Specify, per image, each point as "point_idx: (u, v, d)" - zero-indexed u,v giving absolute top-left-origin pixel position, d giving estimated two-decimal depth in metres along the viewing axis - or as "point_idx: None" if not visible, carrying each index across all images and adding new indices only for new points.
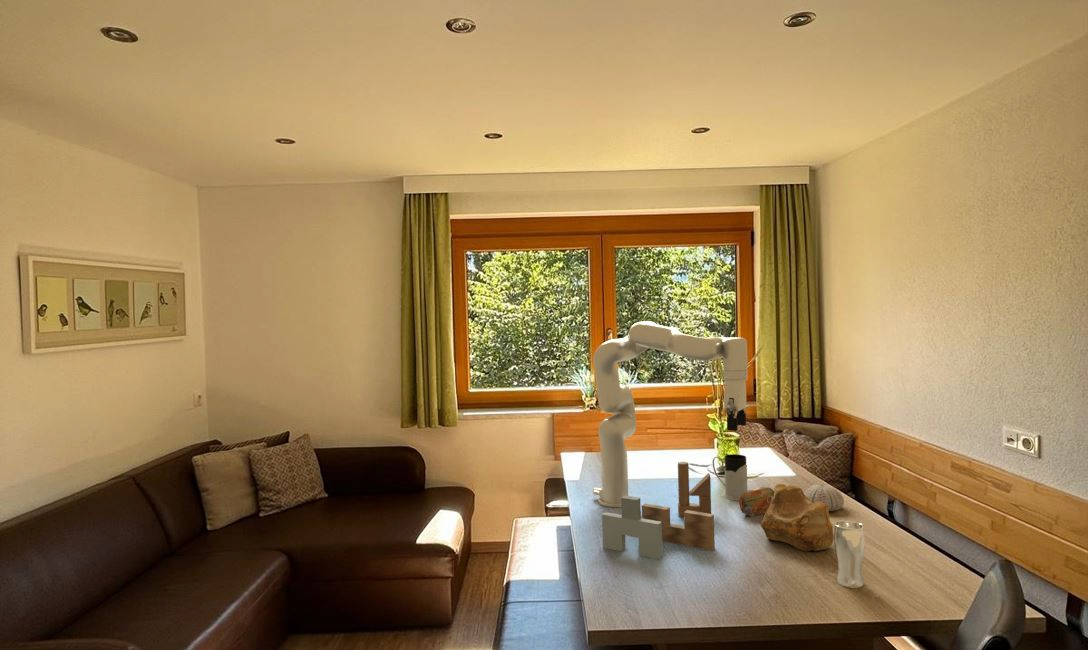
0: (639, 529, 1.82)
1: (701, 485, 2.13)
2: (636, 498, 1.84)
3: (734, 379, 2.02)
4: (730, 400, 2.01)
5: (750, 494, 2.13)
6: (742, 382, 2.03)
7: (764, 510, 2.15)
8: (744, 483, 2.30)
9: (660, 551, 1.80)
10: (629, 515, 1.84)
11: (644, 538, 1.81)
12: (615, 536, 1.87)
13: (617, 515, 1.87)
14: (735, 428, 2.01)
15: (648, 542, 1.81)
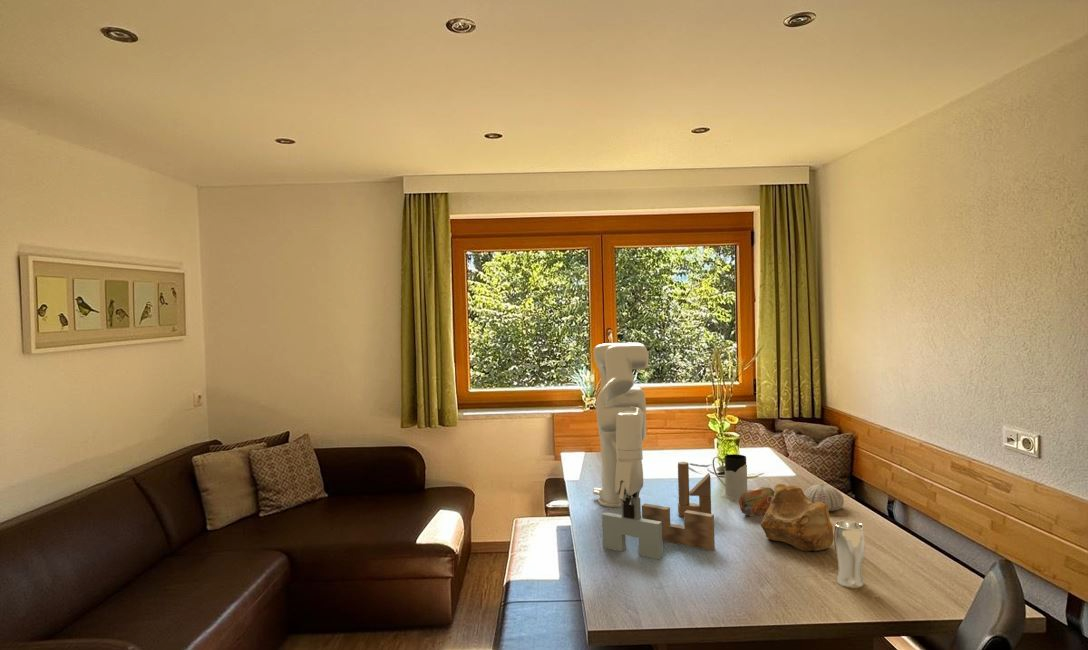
0: (639, 529, 1.82)
1: (701, 485, 2.13)
2: (636, 498, 1.84)
3: (626, 459, 1.81)
4: (622, 487, 1.80)
5: (750, 494, 2.13)
6: (635, 462, 1.82)
7: (764, 510, 2.15)
8: (744, 483, 2.30)
9: (660, 551, 1.80)
10: None
11: (644, 538, 1.81)
12: (615, 536, 1.87)
13: (617, 515, 1.87)
14: (632, 516, 1.83)
15: (648, 542, 1.81)
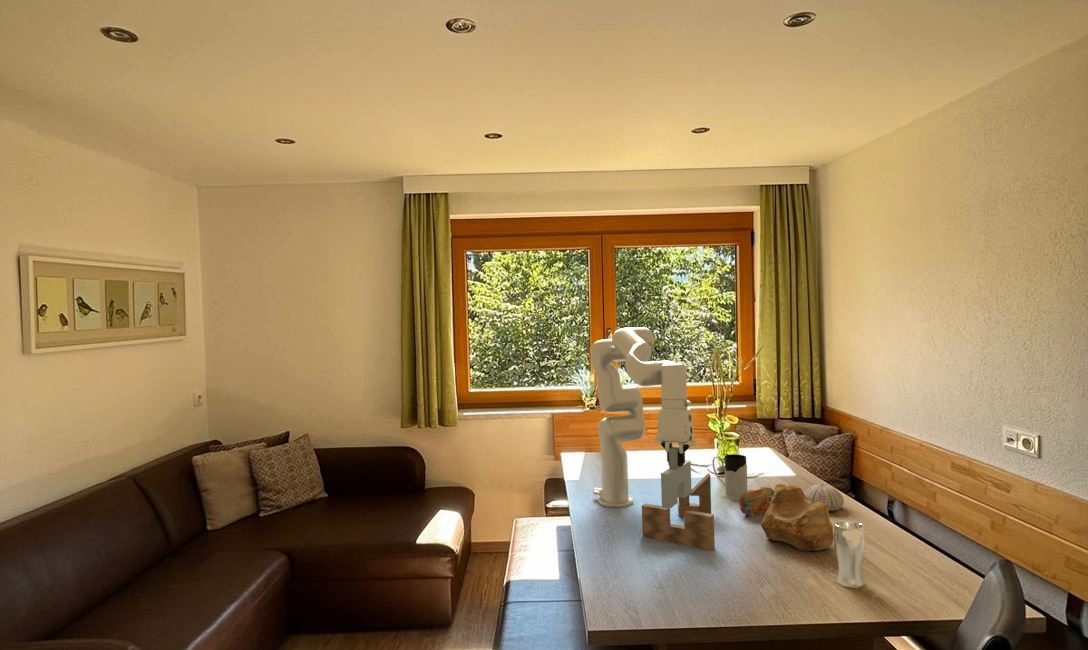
0: None
1: (701, 485, 2.13)
2: (673, 448, 1.88)
3: None
4: None
5: (750, 494, 2.13)
6: (667, 412, 1.88)
7: (764, 510, 2.15)
8: (744, 483, 2.30)
9: (664, 501, 1.83)
10: None
11: None
12: None
13: None
14: None
15: None
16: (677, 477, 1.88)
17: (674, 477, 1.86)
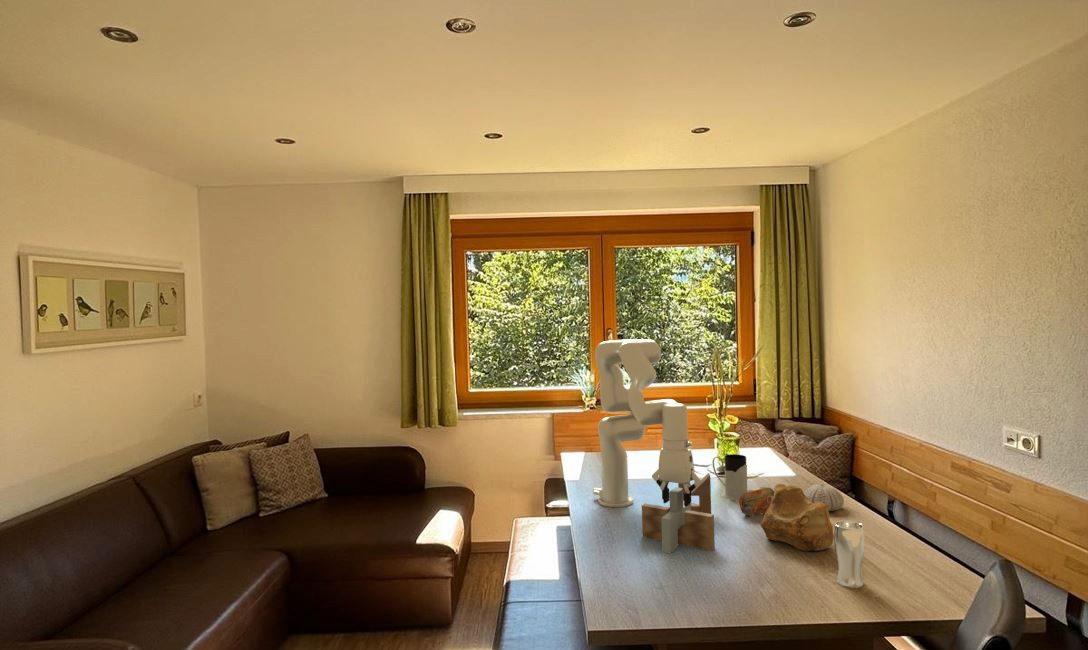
0: None
1: (701, 485, 2.13)
2: (674, 491, 1.89)
3: None
4: None
5: (750, 494, 2.13)
6: (668, 452, 1.89)
7: (764, 510, 2.15)
8: (744, 483, 2.30)
9: (665, 546, 1.84)
10: None
11: None
12: None
13: None
14: None
15: None
16: (678, 520, 1.88)
17: (675, 521, 1.86)
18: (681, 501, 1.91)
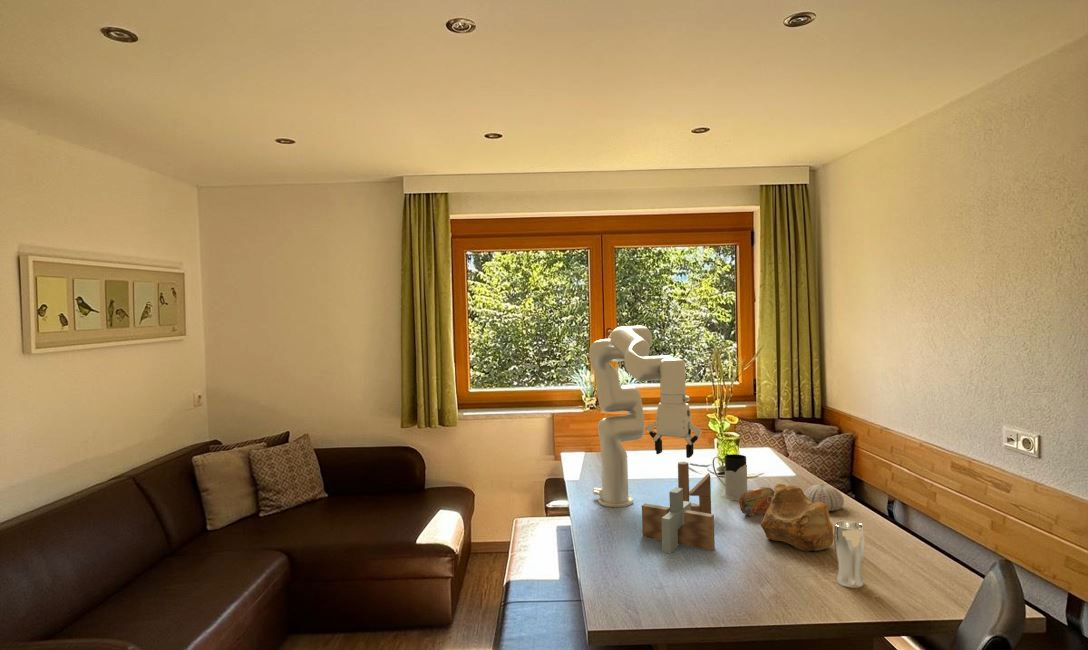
0: None
1: (701, 485, 2.13)
2: (674, 491, 1.89)
3: None
4: None
5: (750, 494, 2.13)
6: (666, 407, 1.90)
7: (764, 510, 2.15)
8: (744, 483, 2.30)
9: (665, 546, 1.84)
10: None
11: None
12: None
13: None
14: None
15: None
16: (678, 520, 1.88)
17: (675, 521, 1.86)
18: (681, 501, 1.91)
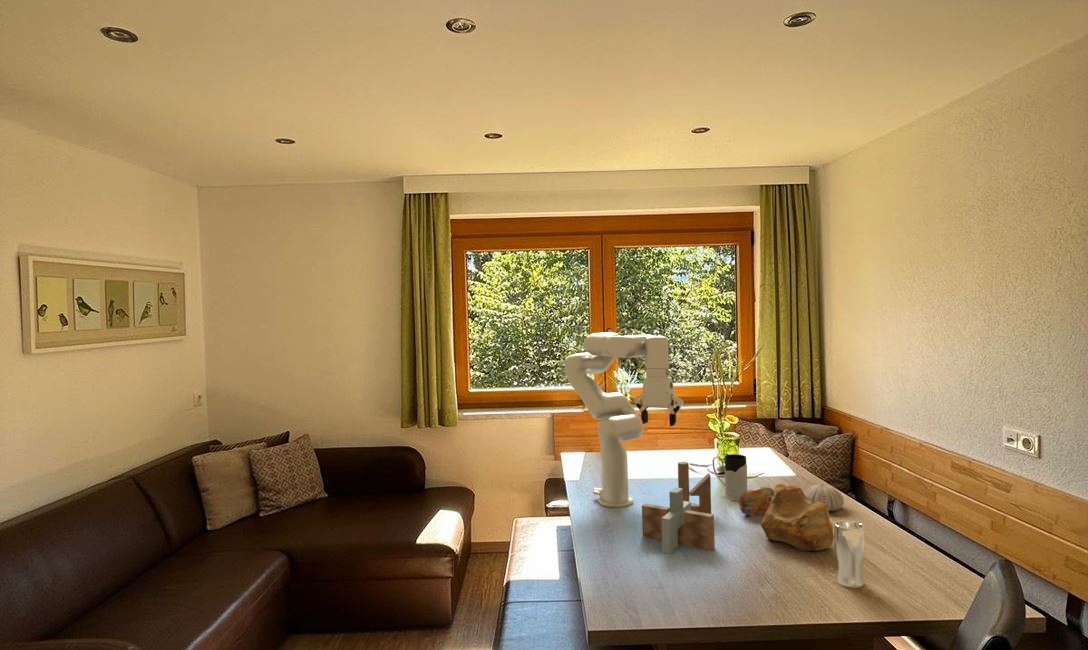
0: None
1: (701, 485, 2.13)
2: (674, 491, 1.89)
3: None
4: (641, 394, 2.13)
5: (750, 494, 2.13)
6: (651, 380, 2.08)
7: (764, 510, 2.15)
8: (744, 483, 2.30)
9: (665, 546, 1.84)
10: None
11: None
12: None
13: None
14: None
15: None
16: (678, 520, 1.88)
17: (675, 521, 1.86)
18: (681, 501, 1.91)
